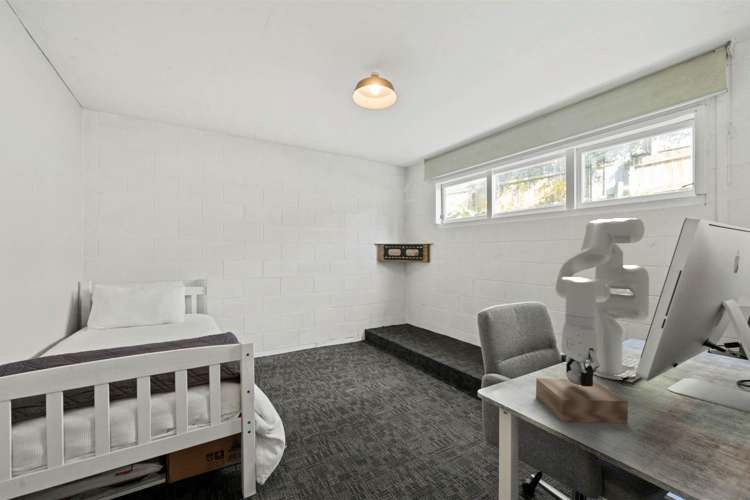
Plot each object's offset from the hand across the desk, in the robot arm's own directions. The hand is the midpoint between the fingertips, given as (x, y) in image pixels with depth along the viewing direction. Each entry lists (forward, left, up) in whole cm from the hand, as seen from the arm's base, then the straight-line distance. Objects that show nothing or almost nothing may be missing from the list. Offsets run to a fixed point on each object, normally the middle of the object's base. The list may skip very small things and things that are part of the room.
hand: (579, 380), depth 92 cm
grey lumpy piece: (0, 0, -1) cm, 1 cm away
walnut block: (0, 0, -8) cm, 8 cm away
